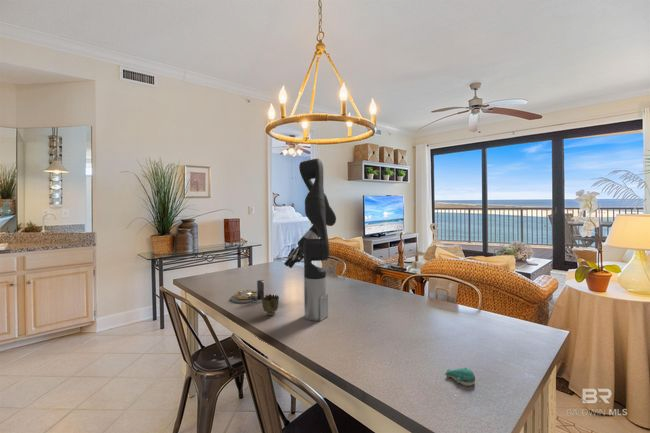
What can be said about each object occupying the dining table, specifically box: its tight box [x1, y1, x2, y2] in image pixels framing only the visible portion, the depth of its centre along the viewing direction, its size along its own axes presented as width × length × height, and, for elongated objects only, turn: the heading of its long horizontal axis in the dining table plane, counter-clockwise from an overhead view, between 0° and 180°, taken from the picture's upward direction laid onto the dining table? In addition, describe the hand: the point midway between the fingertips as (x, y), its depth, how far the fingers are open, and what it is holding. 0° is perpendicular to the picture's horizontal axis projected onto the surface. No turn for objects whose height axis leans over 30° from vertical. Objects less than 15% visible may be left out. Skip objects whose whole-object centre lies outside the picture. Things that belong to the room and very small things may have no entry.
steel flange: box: [230, 290, 259, 304], centre depth 157 cm, size 15×15×3 cm
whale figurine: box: [444, 367, 476, 387], centre depth 84 cm, size 6×7×4 cm
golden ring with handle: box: [233, 279, 265, 301], centre depth 155 cm, size 17×12×9 cm
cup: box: [261, 293, 280, 317], centre depth 134 cm, size 8×7×8 cm
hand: (287, 266), depth 158 cm, fingers open, 4 cm apart
